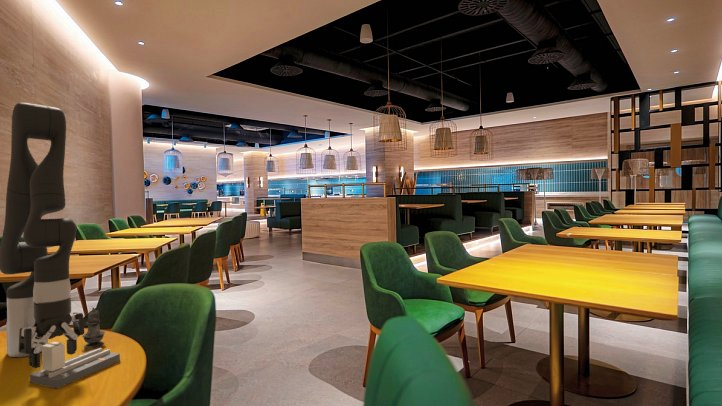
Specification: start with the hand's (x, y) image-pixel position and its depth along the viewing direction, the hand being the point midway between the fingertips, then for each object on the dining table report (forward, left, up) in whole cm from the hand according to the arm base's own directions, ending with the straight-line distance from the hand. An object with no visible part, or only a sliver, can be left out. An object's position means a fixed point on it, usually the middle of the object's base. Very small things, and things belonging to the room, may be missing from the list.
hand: (54, 360), depth 101 cm
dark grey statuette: (-13, +21, -6) cm, 25 cm away
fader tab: (0, 0, -3) cm, 3 cm away
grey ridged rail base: (0, +6, -5) cm, 8 cm away
